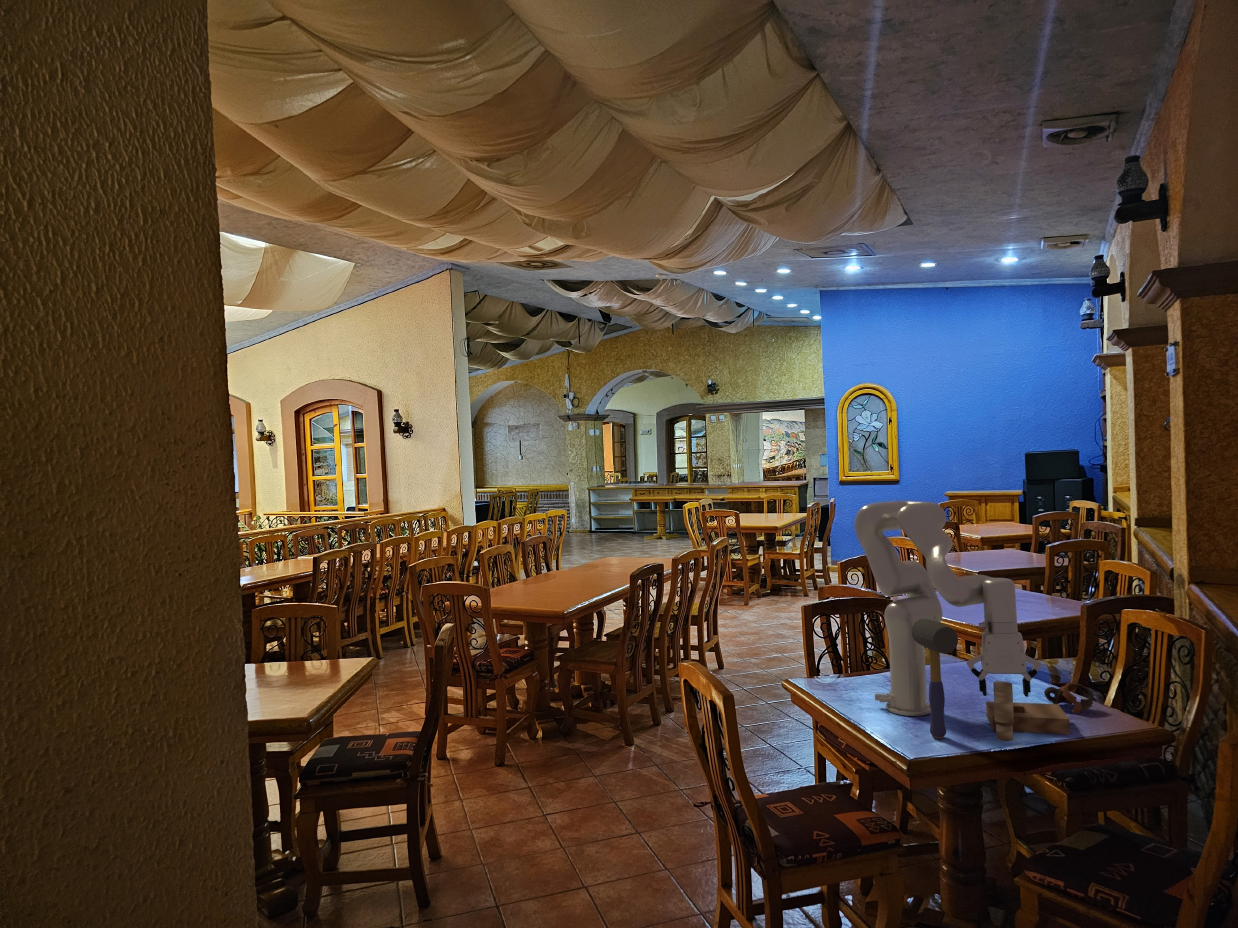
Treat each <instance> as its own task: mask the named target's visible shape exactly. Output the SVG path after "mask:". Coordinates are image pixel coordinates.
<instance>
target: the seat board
mask: <svg viewBox="0 0 1238 928" xmlns="http://www.w3.org/2000/svg"><path fill="white" fill-rule="evenodd" d="M985 711H986V712H985V713H986V714H985V716H986V718H987V720H988V722H989V725H990V727H991V729H992V732H996V723H995V722H994V719H995V715H994V701H991V700H990V701H985ZM1013 714H1014V725H1013V733H1023V732H1029V733H1028V734H1044V733H1047V734H1048V733H1050V734H1049V735H1065V734H1070V735H1071V728H1070V717H1069V716H1068V715H1067V714H1066V712H1065V711H1064V710H1063V709H1062V707H1061V706H1060V705H1059V704H1053V703H1040V702H1039V703H1038V702H1036V703H1033V702H1014V701H1013ZM1047 734H1046V735H1047Z"/></svg>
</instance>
